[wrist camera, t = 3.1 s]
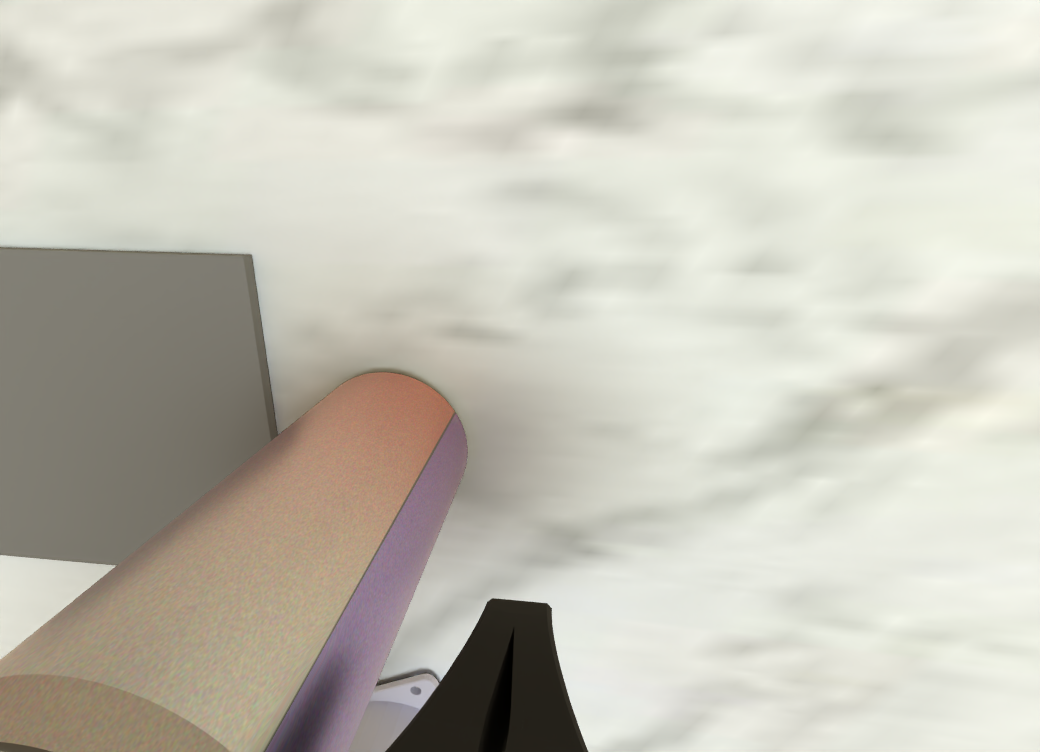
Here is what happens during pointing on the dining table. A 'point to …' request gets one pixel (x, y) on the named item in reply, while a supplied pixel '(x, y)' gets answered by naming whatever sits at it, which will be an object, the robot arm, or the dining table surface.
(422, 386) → the beverage can
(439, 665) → the dining table surface
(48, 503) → the mat
